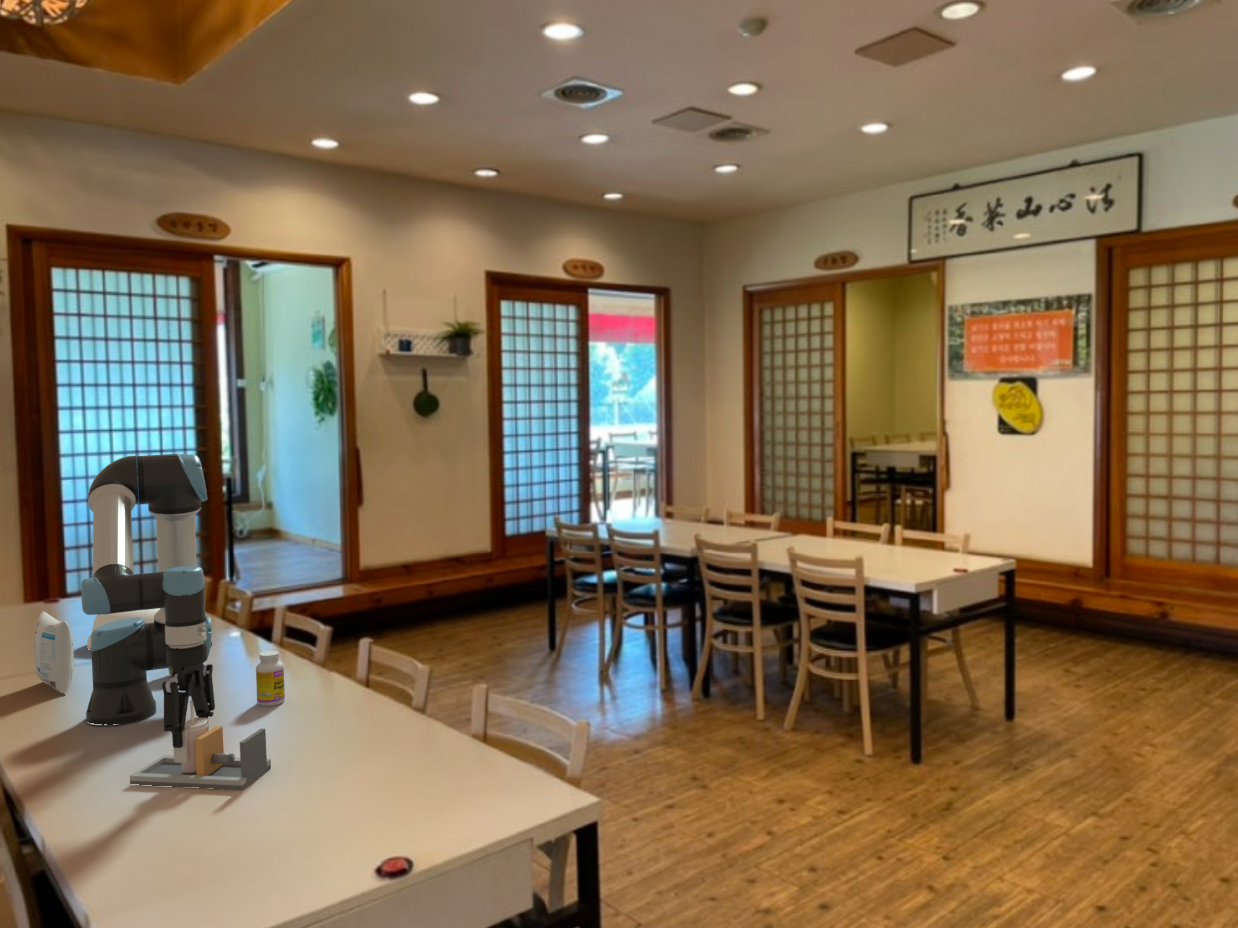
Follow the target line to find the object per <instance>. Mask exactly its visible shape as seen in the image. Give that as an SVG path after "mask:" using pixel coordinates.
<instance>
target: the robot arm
mask: <svg viewBox="0 0 1238 928" xmlns="http://www.w3.org/2000/svg"><path fill="white" fill-rule="evenodd" d="M207 492H208V491H207V488H206V480H205V476H204V471H203V466H202V463H201V459H200V457H199V456H197V455H195V454H189V453H188V454H183V453H170V454H169V453H167V454H151V455H150V454H148V455H128V456H125V457H124V456H123V457H121V458H119V459H116V460H114V461H111V462H110V463H109V464H108V465H106V466H105V467H104V468H102V470H101V471H99V472H98V474H97V475H96V476H95V477H94V479H93V481H92V482H91V484H90V487H89V490H88V495H87V496H88V497H87V503H88V507H89V509H90V510H91V512H92V513H93V515H92V518H93V519H92V520H93V521H92V522H93V523H92V524H93V525H92V526H93V527H92V538H93V539H92V577H88V578H84V579H83V580H82V581H81V583H80V587H81V590H80V591H81V592H80V593H81V594H80V596H81V606H82V607H81V608H82V612H83V613H84V614H86V615H87V616H95V615H96V616H97V615H99V614H105V615H106V614H112V613H120V612H129V611H137V610H148V609H158V608H160V610H159V611H158V612H157V613H156V614H155V615H154V622H153V623H145V621H144V620H143V618H139V617H136V618H127V619H122V620H117V621H113V622H110V623H107V624H104V625H102V626H100V627H98V628H96V629H95V630H94V631H93V632H92V631H91V633H90V635H91V647H90V651H91V671H92V676H91V677H92V692H91V695H90V698H89V701H88V705H87V709H86V712H85V713H86V714H85V719H86V720H87V721H86V723H87V722H89V723H94V724H102V725H104V724H107V725H113V724H122V725H126V724H125V723H128V724H131V723H135V722H139V721H143V720H145V719H148V718H150V717H151V715H152V716H153V715H155V713H156V712H157V701H156V699H155V698H154V696H153V693H152V690H151V687H150V685H149V683H148V678H147V677H148V676H147V672H149V671H155V670H162V669H163V670H164V669H168V668H172V669H173V671H172V675H171V677H170V679H169V680H168V681H163V682H162V683H161V688H162V691H163V693H162V694H163V731H164V732H171V735H172V736H171V738H172V747H173V755H174V762H178V763H187V762H189V753H188V732H187V730H184V728H185V720H186V719H187V714H188V713H187V711H188V705H189V704H188V703H189V697H190V698H191V701H193V709H194V712H195V713H194V714H195V716H196V717H195V718H205V719H207V724H208V726H207V727H206V732H207V731H209V730H210V729H209V718H212V717H213V716H214V711H215V708H216V706H215V693H214V683H213V682H214V681H213V668H214V667H213V664H211V663H209V664H205V662H206V661H207V660H208V658H209V655H210V652H211V648H210V646H211V641H212V635H213V634H212V632H213V631H212V630H213V623H212V618H211V616H209V615H206V594H205V593H206V592H205V589H206V588H205V586H206V580H205V577H204V576H205V575H204V570H203V568H202V567H200V566H197V563H198V562H197V540H196V515H197V513H198V512H199V511H200V510H201V509H202V503H203V502H205V501H207V500H208V494H207ZM136 505H148V506H147V508H148V513H150V514H152V516H153V517H155V523H156V525H155V526H156V527H155V528H156V546H157V547H156V549H157V568H158V569H157V572H148V573H134V571H135V568H134V549H133V547H134V546H133V523H132V511H133V510H134V509H135V506H136ZM90 651H89V652H90Z"/></svg>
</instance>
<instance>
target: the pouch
mask: <svg viewBox="0 0 1238 928" xmlns="http://www.w3.org/2000/svg"><path fill="white" fill-rule="evenodd" d="M33 637H34V638H33V646H34V648H33V651H34V652H33V653H34V654H33V659H34V667H35V672H36V675H37V677H38V678H39V680H41V682H44V681H45V682H46V683H47V684H48V685H49V686H51V687H53V688H54V689H55V690H56V691H58V692H59V693H61V694H62V693H68V692H69V690H70V688H71V684H72V680H73V673H74V663H75V662H74V661H75V659H74V657H75V656H74V653H75V652H74V639H73V638H74V637H73V634H72V630H71V627H70V625H69V623H67V621H65V620H62V621H59V620H58V619H56V618H55V617H53V616H52V615H50V614H49V613H47V612H45V611H44V610H42V611H41V613H40V614H39V616H38V618H37V621H36V625H35V631H34V636H33Z"/></svg>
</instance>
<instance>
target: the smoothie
mask: <svg viewBox="0 0 1238 928" xmlns="http://www.w3.org/2000/svg"><path fill="white" fill-rule="evenodd" d="M189 704H190V718H186V720H185V728H184V730H187V732H188V753H189V762H187V763H181V764H182V770H183V772H185V773H191V772H196V771H197V769H196V748H195V739H196V738H197V737H199V736H201V735H202V734H204V733H205V732H206V727H207V726H209V723H208V724H207V719H205V718H196V717H195V716H194V714H195V713H194V712H195V709H194V706H193V701H192V700H190V701H189Z"/></svg>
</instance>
